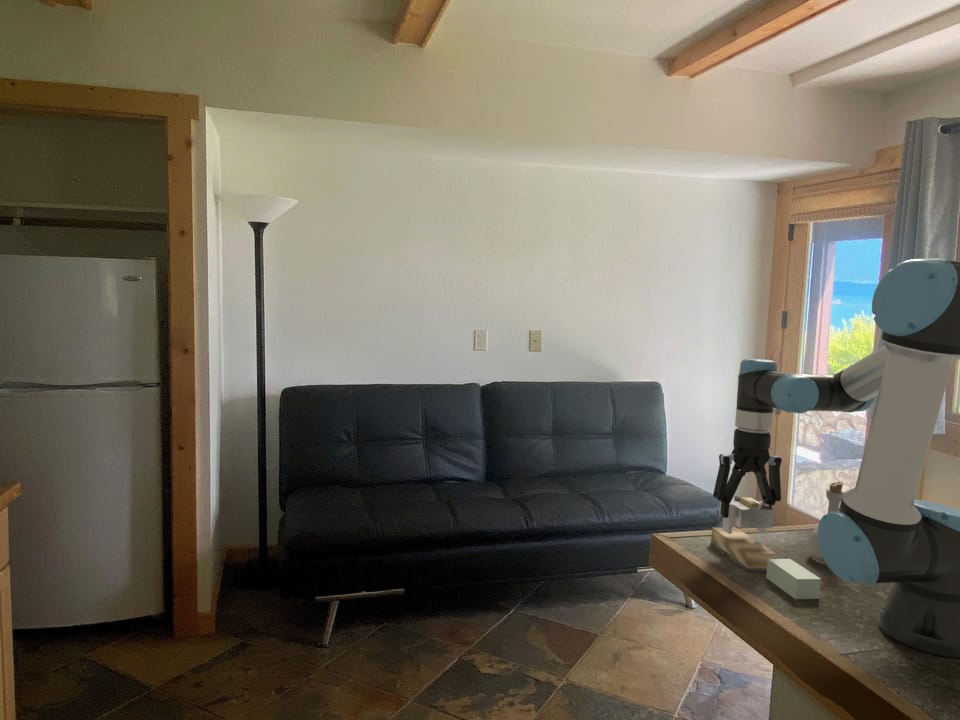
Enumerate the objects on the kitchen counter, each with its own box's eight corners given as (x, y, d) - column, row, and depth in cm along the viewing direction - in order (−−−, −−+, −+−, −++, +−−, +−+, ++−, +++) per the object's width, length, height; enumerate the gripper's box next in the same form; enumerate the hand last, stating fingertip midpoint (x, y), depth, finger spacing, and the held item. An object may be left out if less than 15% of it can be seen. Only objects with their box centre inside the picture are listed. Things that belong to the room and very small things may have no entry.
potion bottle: (858, 569, 150) (867, 488, 148) (817, 566, 150) (825, 486, 149) (838, 554, 159) (846, 478, 157) (799, 551, 159) (807, 475, 157)
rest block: (818, 598, 134) (821, 578, 133) (795, 599, 133) (797, 579, 132) (788, 577, 143) (790, 558, 143) (766, 577, 143) (768, 559, 142)
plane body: (773, 571, 146) (775, 553, 146) (747, 571, 145) (749, 553, 145) (734, 544, 162) (736, 527, 161) (710, 544, 161) (712, 527, 160)
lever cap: (772, 527, 148) (774, 505, 148) (739, 527, 147) (741, 504, 147) (749, 515, 157) (751, 493, 157) (719, 514, 156) (720, 493, 156)
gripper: (785, 427, 156) (776, 526, 158) (701, 425, 153) (693, 526, 155) (806, 434, 149) (796, 537, 150) (717, 431, 145) (709, 537, 147)
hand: (744, 531), depth 152 cm, fingers closed on lever cap, 7 cm apart
